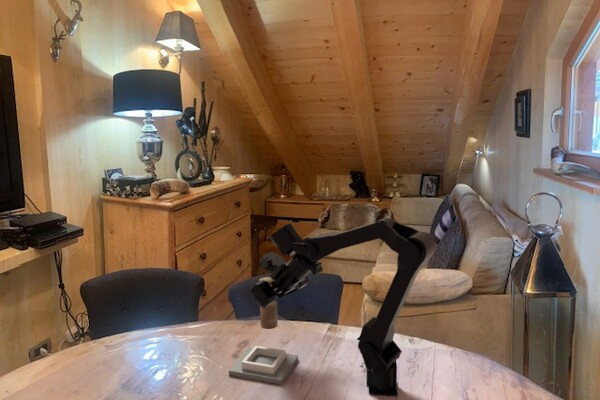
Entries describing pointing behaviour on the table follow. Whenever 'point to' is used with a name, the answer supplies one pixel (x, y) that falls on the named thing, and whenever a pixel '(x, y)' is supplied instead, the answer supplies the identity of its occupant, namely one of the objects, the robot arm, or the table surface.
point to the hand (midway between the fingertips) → (264, 301)
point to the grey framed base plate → (264, 365)
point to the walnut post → (269, 312)
